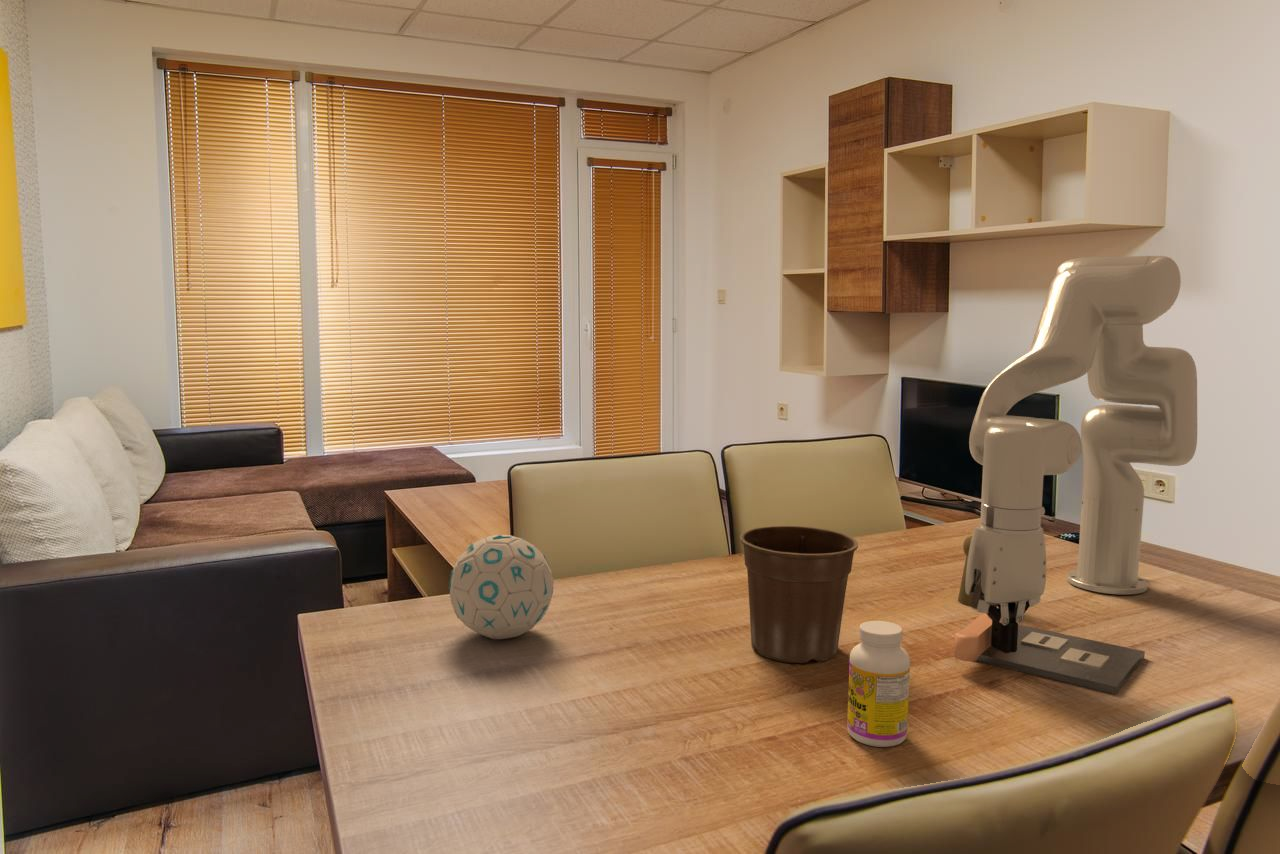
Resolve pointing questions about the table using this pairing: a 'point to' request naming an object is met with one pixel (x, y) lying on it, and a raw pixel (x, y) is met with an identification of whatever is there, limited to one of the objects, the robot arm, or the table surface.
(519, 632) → the puzzle ball
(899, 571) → the table surface
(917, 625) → the table surface
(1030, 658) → the panel
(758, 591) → the plant pot
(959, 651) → the swing bar
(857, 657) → the supplement bottle
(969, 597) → the cork
